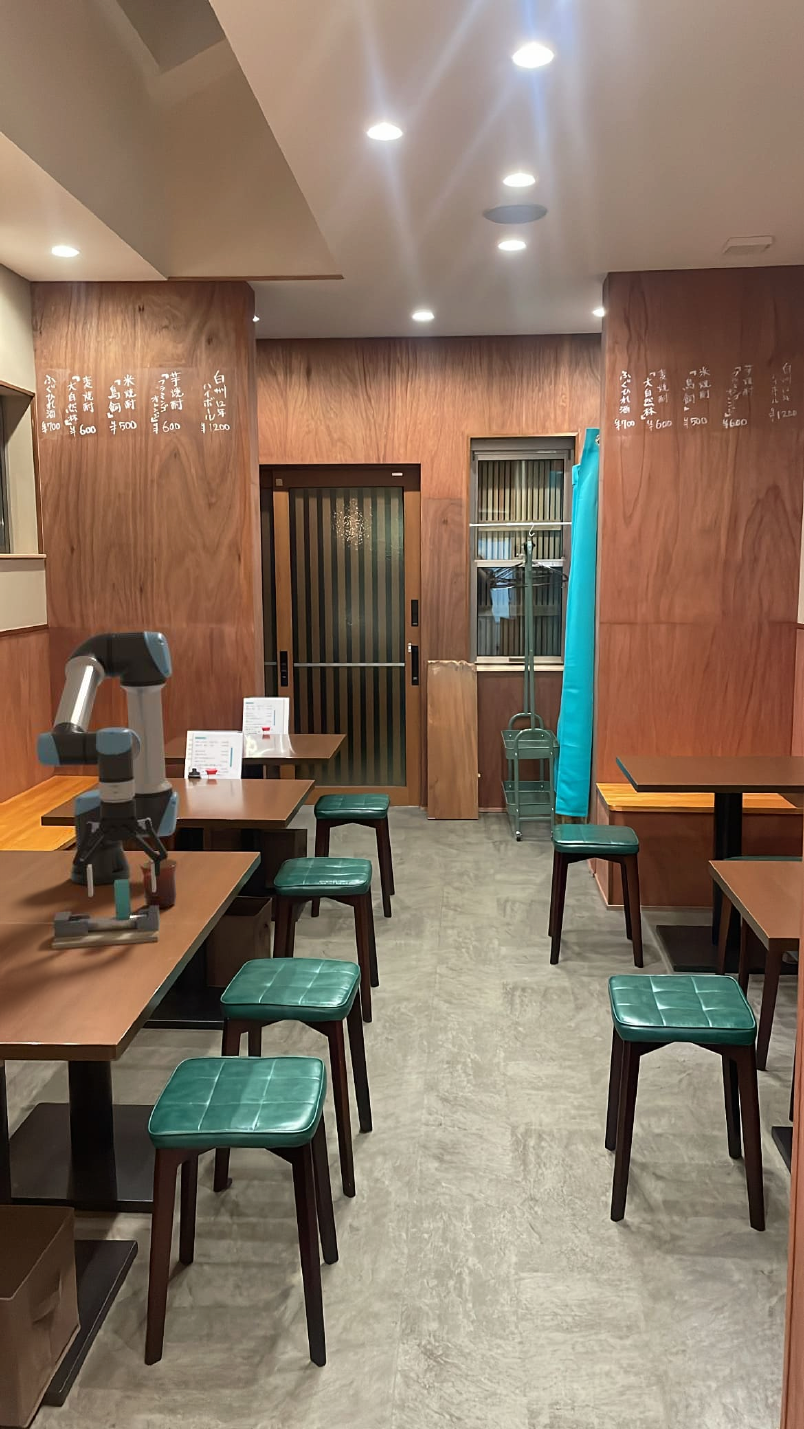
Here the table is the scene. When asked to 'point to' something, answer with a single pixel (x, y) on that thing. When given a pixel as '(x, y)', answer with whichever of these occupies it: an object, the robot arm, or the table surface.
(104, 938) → the board
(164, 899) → the mug
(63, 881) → the table surface
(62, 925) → the bracket
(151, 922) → the socket
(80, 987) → the table surface
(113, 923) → the teal and grey t-piece
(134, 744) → the robot arm
